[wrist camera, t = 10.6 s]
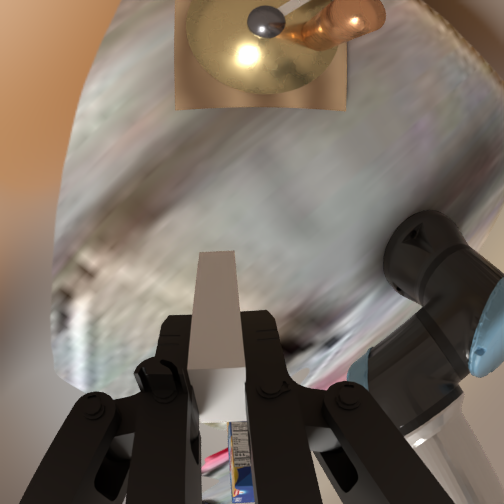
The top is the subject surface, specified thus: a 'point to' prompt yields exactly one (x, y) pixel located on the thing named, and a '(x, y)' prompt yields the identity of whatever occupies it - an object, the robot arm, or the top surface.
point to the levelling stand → (220, 95)
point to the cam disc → (275, 39)
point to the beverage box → (239, 463)
